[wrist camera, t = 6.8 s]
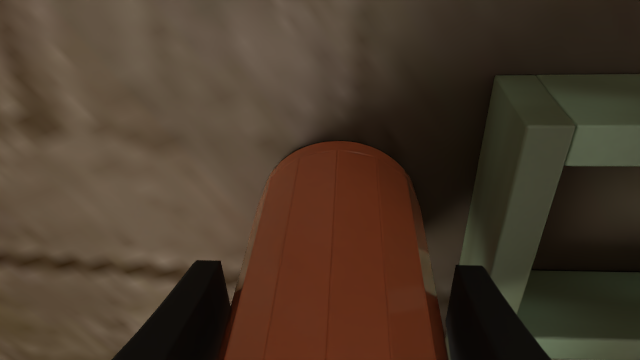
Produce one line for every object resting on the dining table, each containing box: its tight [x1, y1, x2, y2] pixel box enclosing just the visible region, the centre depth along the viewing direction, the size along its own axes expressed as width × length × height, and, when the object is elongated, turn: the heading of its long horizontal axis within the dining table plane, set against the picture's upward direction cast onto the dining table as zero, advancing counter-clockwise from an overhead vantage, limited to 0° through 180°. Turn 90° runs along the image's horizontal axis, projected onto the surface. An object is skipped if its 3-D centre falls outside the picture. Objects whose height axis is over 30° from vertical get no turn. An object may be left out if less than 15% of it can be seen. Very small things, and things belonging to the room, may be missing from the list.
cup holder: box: [445, 74, 640, 360], centre depth 15 cm, size 8×15×3 cm, turn 2°
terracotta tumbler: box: [216, 141, 449, 360], centre depth 11 cm, size 5×5×9 cm
